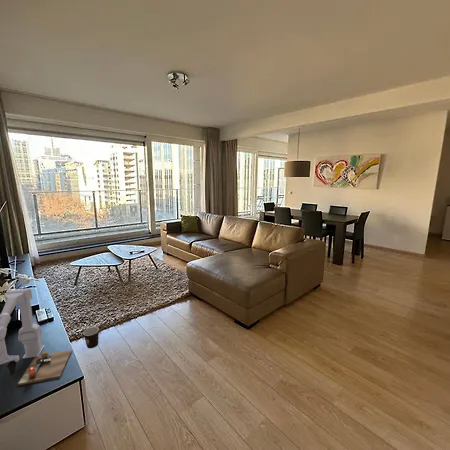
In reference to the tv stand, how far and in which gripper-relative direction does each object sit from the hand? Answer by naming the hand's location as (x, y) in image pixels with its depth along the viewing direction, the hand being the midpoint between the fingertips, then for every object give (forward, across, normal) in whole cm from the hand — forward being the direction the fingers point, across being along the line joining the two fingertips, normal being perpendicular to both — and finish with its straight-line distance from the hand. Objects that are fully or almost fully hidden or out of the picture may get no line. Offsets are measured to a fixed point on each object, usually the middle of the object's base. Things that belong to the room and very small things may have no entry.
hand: (3, 375), depth 119 cm
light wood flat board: (+10, +12, +14) cm, 21 cm away
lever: (+9, +10, +11) cm, 17 cm away
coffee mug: (+10, +32, +28) cm, 44 cm away
